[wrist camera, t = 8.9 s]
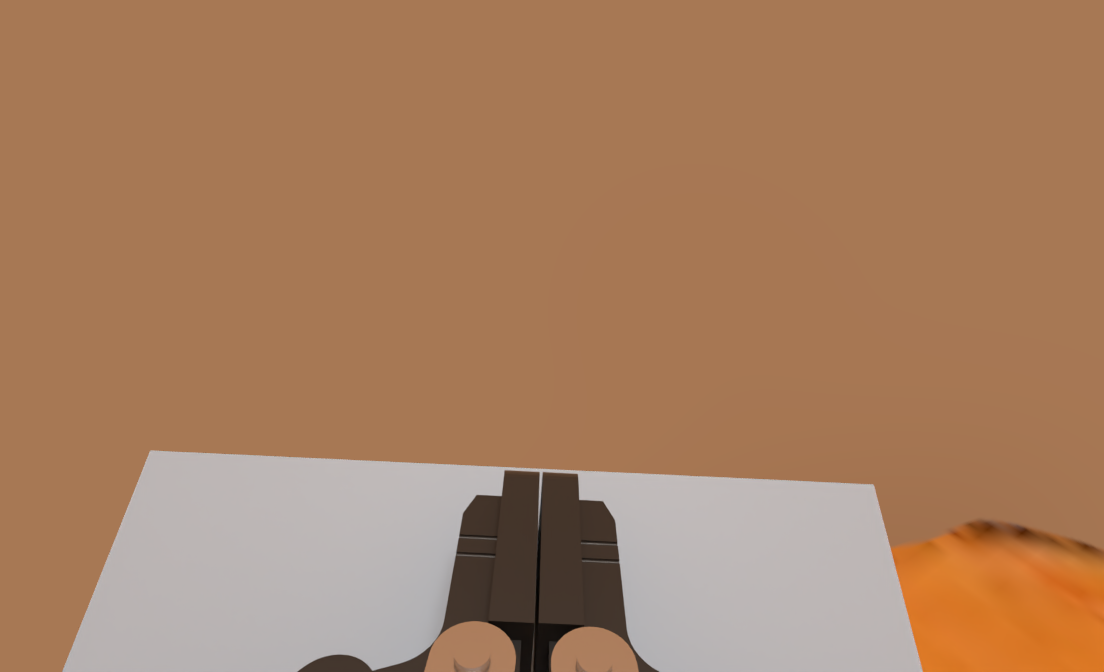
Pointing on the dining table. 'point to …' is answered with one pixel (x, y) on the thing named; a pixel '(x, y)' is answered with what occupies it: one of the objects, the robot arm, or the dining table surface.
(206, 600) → the flap
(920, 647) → the dining table surface
